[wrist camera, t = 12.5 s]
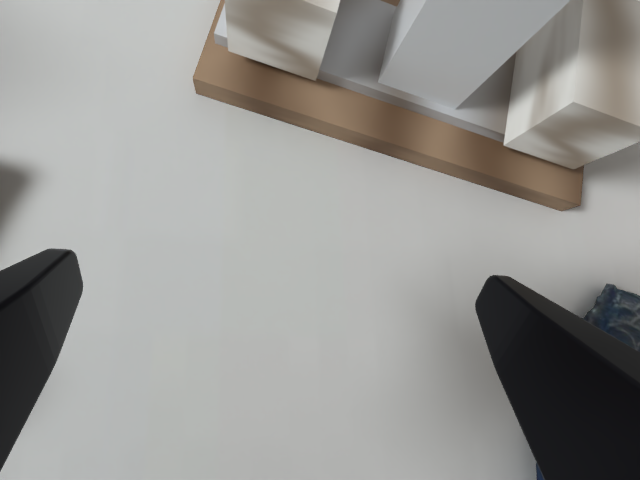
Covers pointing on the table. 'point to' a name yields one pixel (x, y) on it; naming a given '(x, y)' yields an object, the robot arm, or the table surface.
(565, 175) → the rail board
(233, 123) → the table surface
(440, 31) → the logic module
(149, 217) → the table surface
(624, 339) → the fish model
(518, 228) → the table surface
